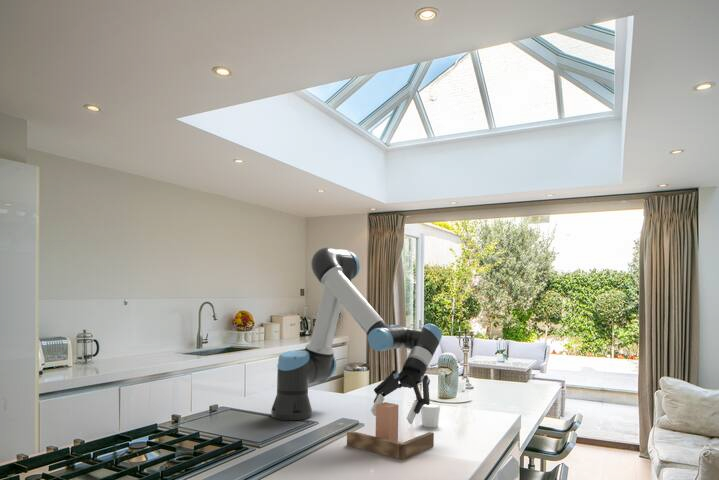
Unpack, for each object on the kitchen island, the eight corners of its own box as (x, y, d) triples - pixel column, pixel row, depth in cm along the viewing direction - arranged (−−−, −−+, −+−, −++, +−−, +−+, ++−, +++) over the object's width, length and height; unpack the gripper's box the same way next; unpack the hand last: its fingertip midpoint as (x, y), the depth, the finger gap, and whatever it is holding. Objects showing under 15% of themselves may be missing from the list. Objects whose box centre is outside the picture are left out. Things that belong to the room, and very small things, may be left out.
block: (375, 444, 158) (376, 404, 160) (384, 441, 162) (385, 402, 164) (388, 447, 155) (389, 407, 157) (397, 444, 159) (398, 404, 160)
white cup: (439, 428, 180) (439, 407, 181) (419, 426, 181) (419, 406, 182) (440, 423, 187) (440, 403, 187) (421, 422, 188) (421, 402, 189)
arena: (346, 445, 158) (347, 431, 158) (379, 433, 171) (379, 421, 172) (403, 459, 145) (403, 445, 145) (433, 446, 159) (433, 432, 159)
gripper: (453, 375, 167) (429, 432, 154) (390, 366, 183) (363, 417, 170) (446, 360, 164) (420, 417, 151) (382, 352, 179) (354, 403, 166)
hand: (390, 417), depth 160 cm, fingers open, 13 cm apart
